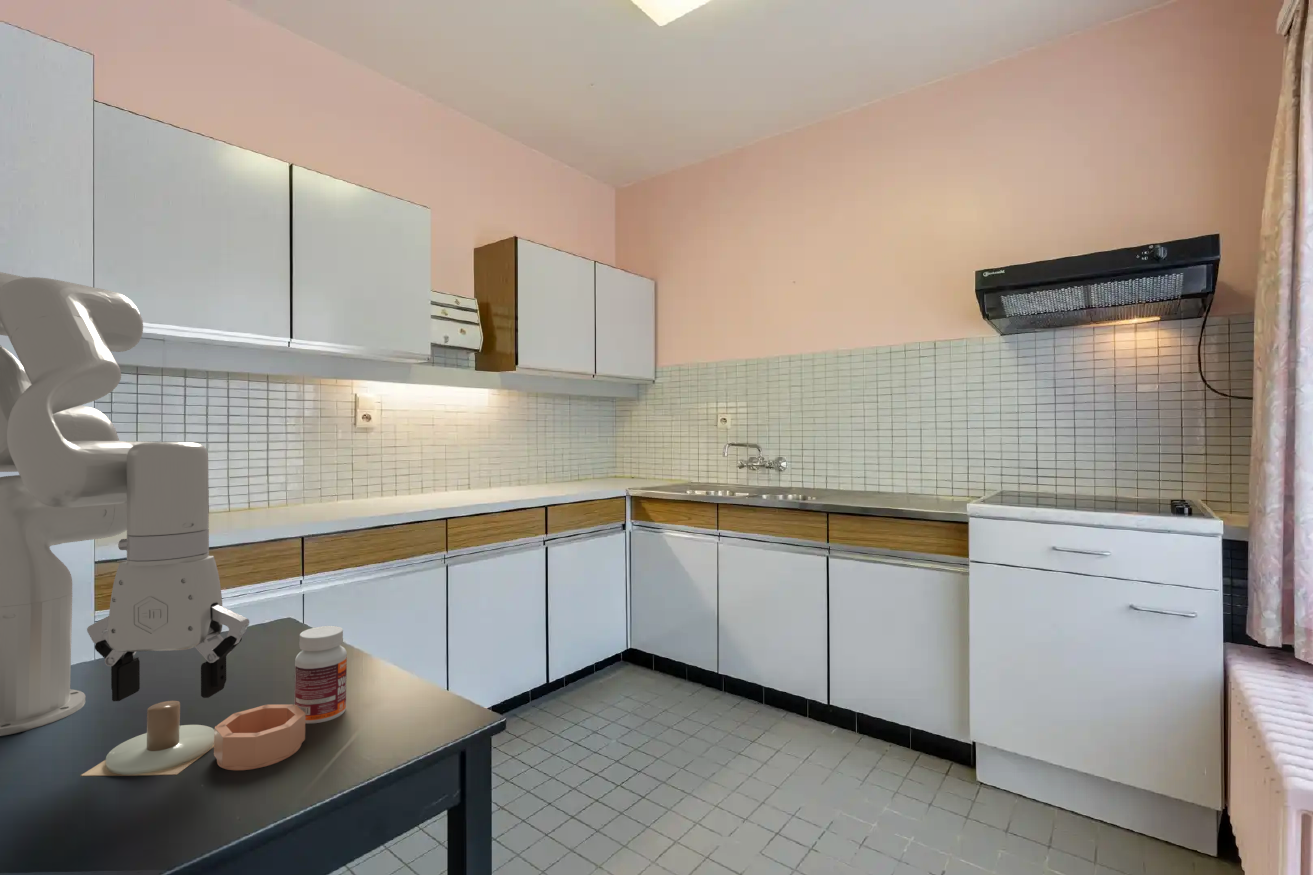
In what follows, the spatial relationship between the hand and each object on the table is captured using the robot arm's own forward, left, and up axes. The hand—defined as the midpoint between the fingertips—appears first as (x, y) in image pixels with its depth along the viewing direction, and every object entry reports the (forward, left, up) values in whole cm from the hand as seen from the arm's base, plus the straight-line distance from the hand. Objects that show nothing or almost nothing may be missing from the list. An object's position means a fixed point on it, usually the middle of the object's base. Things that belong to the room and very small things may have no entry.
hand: (169, 694), depth 72 cm
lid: (-1, 0, -7) cm, 7 cm away
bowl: (+10, 0, -7) cm, 12 cm away
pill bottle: (+12, +10, -7) cm, 18 cm away
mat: (-1, 0, -7) cm, 7 cm away
